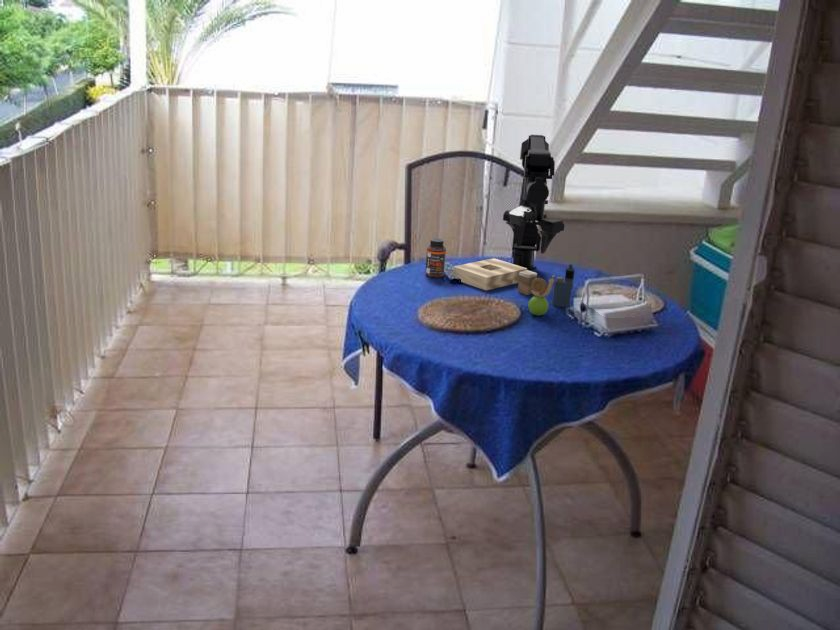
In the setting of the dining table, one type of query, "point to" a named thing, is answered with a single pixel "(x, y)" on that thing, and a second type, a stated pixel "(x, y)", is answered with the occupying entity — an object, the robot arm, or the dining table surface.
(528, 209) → the robot arm
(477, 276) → the socket board
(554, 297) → the vaping device
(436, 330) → the dining table surface
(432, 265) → the supplement bottle
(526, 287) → the peg
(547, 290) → the snail figurine
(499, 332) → the dining table surface
